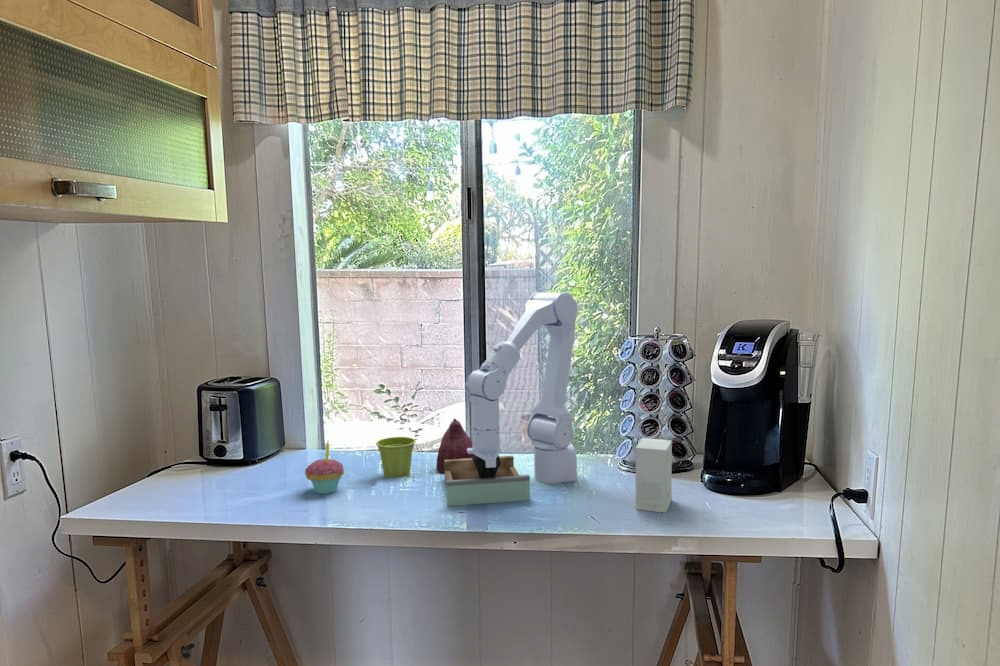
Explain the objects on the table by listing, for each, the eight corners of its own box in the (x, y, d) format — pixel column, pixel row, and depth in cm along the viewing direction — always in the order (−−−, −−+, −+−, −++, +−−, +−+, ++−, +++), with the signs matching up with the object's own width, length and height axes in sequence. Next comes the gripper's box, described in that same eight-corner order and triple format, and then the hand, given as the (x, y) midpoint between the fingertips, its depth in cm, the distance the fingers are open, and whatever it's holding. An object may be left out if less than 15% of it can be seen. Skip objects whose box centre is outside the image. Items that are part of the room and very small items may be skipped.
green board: (529, 498, 130) (528, 474, 130) (530, 500, 129) (529, 476, 128) (446, 504, 127) (446, 480, 127) (447, 506, 126) (446, 482, 126)
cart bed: (513, 480, 146) (512, 455, 145) (526, 505, 130) (526, 477, 129) (444, 485, 143) (444, 459, 143) (450, 510, 128) (449, 482, 127)
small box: (641, 496, 134) (642, 437, 133) (672, 500, 131) (672, 440, 130) (634, 509, 127) (634, 447, 125) (666, 513, 124) (667, 450, 123)
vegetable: (471, 488, 151) (474, 434, 145) (430, 480, 153) (432, 426, 147) (482, 465, 160) (485, 413, 155) (443, 458, 162) (445, 407, 157)
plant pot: (370, 475, 151) (369, 441, 150) (404, 468, 157) (403, 434, 156) (388, 485, 144) (387, 448, 143) (423, 476, 150) (422, 441, 149)
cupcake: (352, 489, 141) (350, 438, 140) (318, 500, 135) (316, 446, 134) (331, 481, 147) (329, 432, 146) (298, 491, 141) (296, 439, 140)
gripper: (463, 420, 136) (464, 481, 137) (470, 437, 121) (471, 504, 123) (495, 419, 137) (496, 479, 138) (505, 435, 122) (506, 502, 124)
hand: (486, 491), depth 130 cm, fingers closed
